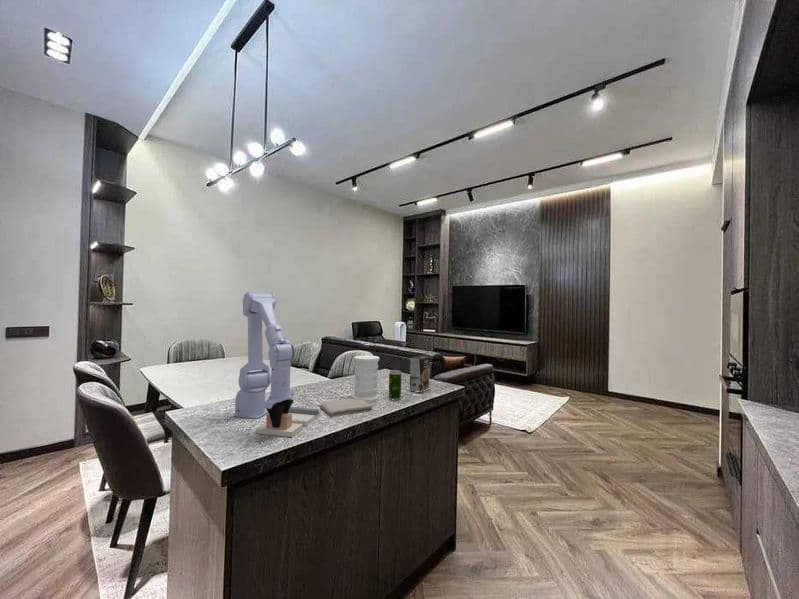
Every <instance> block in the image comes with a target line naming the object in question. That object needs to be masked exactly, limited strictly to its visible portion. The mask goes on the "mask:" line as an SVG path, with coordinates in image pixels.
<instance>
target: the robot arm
mask: <svg viewBox="0 0 799 599" xmlns="http://www.w3.org/2000/svg"><path fill="white" fill-rule="evenodd" d="M276 304H277V298H276V295H275V294H274V293H273V292H270V293H269V292H268V293H267V292H266V293H265V292H250V291H247V292H245V294H244V295H243V299H242V314H243V316H245V317H247V318H246V319H247V353H248V354H247V356H248V357H247V363H246V364H245V365H243V366H242V367H241V368H240V370H239V376H238V387H239V390H238V391H237V392H236V395H235V405H234V407H235V408H234V414H233V417H237V418H246V419H260V418H261V417H263V416H265V415H268V414H269V415H270V418H271V423H272V427H277V428H279V427H280V423H281V416H282V413H287V414H288V412H289V409H290V407H292V405H293V403H294V399H293V398H294V395H295V390H293V389H291V364H292V363H291V361H293V360H294V359H295V358H294V357H295V347H294V344H293V343H292V342H291V341H290V340H288V339H287V335H286V334H285V332H284V329H283V327H282V325H280V324H279V323H278V320H277V317H276V312H275V309H276ZM263 323H264V326H265V328H266V329H265V330H264V336H265V338H266V341H267V345H268V347H269V348H268V349H269V350H268V359H269V365H267V363H264V359H263V354H264V353H263ZM270 368H271V369H270ZM270 370H271V371H270ZM268 387H270V396H268V398H267V399H266V390H268Z"/></svg>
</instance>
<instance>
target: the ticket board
mask: <svg viewBox="0 0 799 599" xmlns="http://www.w3.org/2000/svg"><path fill="white" fill-rule="evenodd" d="M321 412H322V411H321V410H320V409H318V408H309V407H308V408H307V407H306V408H305V407H297V406H296V407H295V406H291V407H290V409H289V412H288V414H292V423H295V424H303V426H302V427H307V426H309V425H310V424H311V423H313V422H314V421H315V420H316V419H317V418H319V417H320V416H321V414H322V413H321Z"/></svg>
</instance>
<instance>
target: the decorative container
mask: <svg viewBox="0 0 799 599" xmlns="http://www.w3.org/2000/svg"><path fill="white" fill-rule="evenodd" d="M379 361H380V356H377V355H364V354H363V355H361V354H360V355H356V356H354V362H355V364H354V368H355V369H354V370H355V372H354V381H353V382H354V388H353V389H354V390H353V391H354V394H352V396H351V399H358V398H361V399H362V400H364V401H366V402H370V403H374V402H373V401H375V402H377V400H378V399H380V395H379V394H377V393H378V383H379V381H378V375H379V372H378V369H379V364H378V363H379ZM378 401H379V400H378Z"/></svg>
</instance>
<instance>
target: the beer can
mask: <svg viewBox="0 0 799 599" xmlns="http://www.w3.org/2000/svg"><path fill="white" fill-rule="evenodd" d="M401 397H402V370H399V369H391V370H389V373H388V399H389V398H390V399H389V400H391V399H394V400H393V401H398V400H397V399H399V400H400V399H401Z"/></svg>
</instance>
